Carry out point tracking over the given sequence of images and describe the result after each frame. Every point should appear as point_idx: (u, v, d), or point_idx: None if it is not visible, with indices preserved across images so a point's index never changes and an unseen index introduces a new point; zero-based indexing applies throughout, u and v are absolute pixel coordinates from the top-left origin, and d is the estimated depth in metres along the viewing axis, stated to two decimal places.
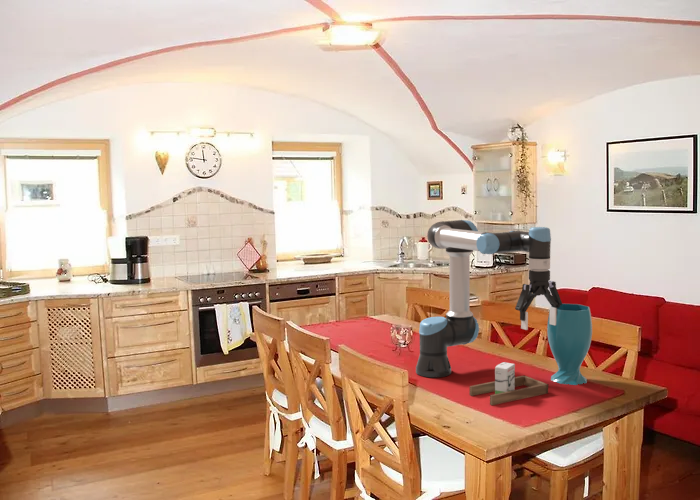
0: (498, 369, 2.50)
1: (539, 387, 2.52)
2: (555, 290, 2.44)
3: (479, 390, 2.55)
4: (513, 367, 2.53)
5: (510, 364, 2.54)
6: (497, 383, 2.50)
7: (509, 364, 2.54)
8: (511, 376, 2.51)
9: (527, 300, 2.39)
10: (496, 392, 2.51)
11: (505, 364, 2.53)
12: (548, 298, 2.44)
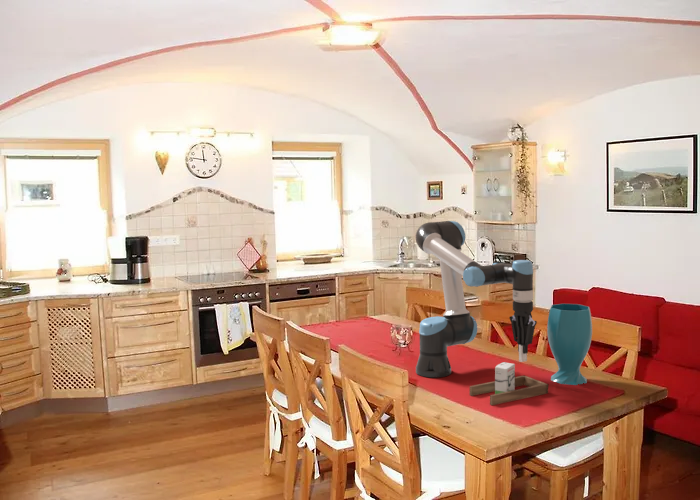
0: (498, 369, 2.50)
1: (539, 387, 2.52)
2: (528, 328, 2.50)
3: (479, 390, 2.55)
4: (513, 367, 2.53)
5: (510, 364, 2.54)
6: (497, 383, 2.50)
7: (509, 364, 2.54)
8: (511, 376, 2.51)
9: None
10: (496, 392, 2.51)
11: (505, 364, 2.53)
12: None
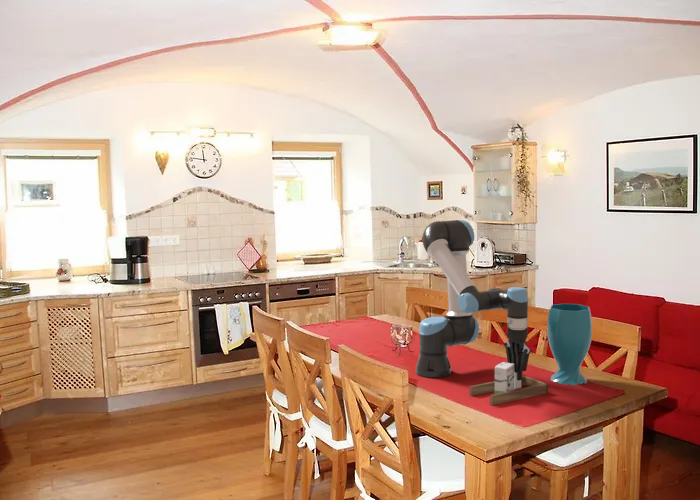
0: (498, 369, 2.49)
1: (539, 387, 2.52)
2: (522, 356, 2.50)
3: (479, 390, 2.55)
4: (513, 367, 2.53)
5: (510, 364, 2.54)
6: (497, 383, 2.50)
7: (509, 364, 2.53)
8: (510, 376, 2.51)
9: None
10: (496, 392, 2.51)
11: (505, 364, 2.53)
12: None
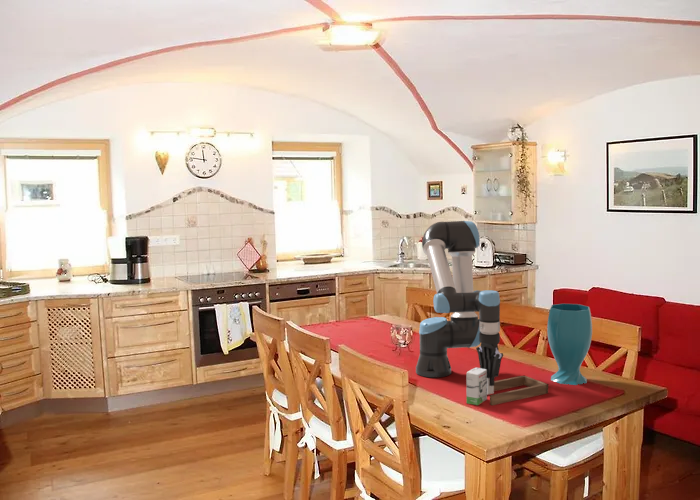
0: (469, 375, 2.43)
1: (539, 387, 2.52)
2: (494, 361, 2.44)
3: None
4: (485, 373, 2.47)
5: (482, 369, 2.47)
6: (469, 389, 2.44)
7: (481, 369, 2.47)
8: (483, 382, 2.45)
9: None
10: (467, 398, 2.44)
11: (477, 369, 2.47)
12: None
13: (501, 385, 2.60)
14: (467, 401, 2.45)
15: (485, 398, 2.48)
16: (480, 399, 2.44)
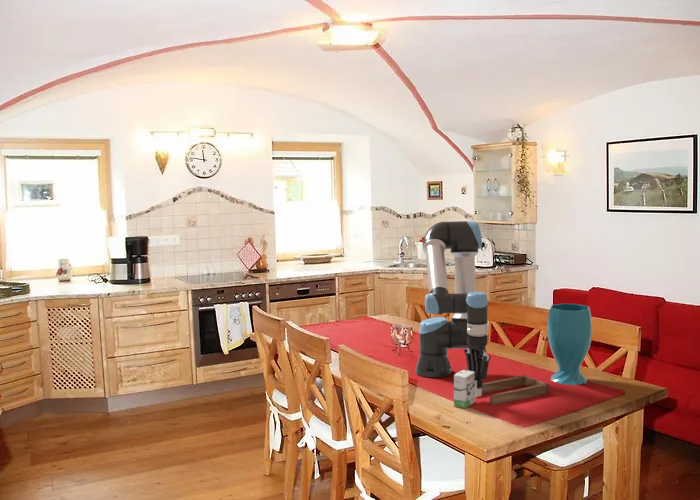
0: (457, 377, 2.40)
1: (539, 387, 2.52)
2: (482, 363, 2.42)
3: None
4: (473, 375, 2.44)
5: (470, 372, 2.45)
6: (456, 391, 2.41)
7: (469, 372, 2.44)
8: (470, 384, 2.42)
9: None
10: (455, 401, 2.42)
11: (465, 372, 2.44)
12: None
13: (501, 385, 2.60)
14: (455, 404, 2.42)
15: (473, 401, 2.45)
16: (468, 402, 2.41)
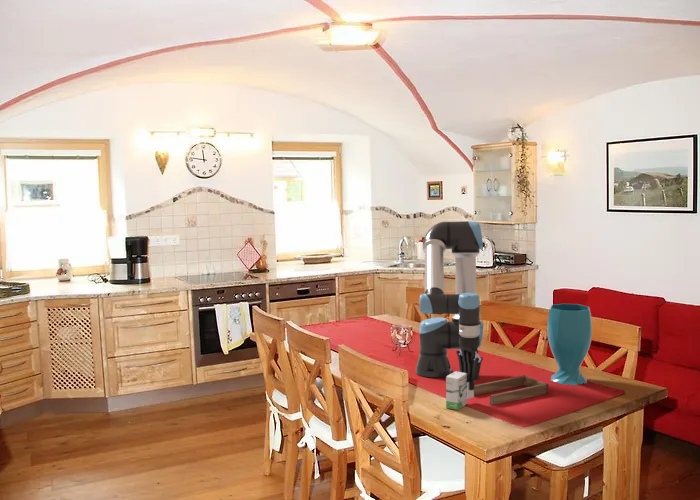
0: (449, 379, 2.39)
1: (539, 387, 2.52)
2: (474, 365, 2.40)
3: (479, 390, 2.55)
4: (465, 377, 2.42)
5: (462, 373, 2.43)
6: (448, 393, 2.39)
7: (461, 373, 2.43)
8: (463, 386, 2.41)
9: None
10: (447, 403, 2.40)
11: (457, 373, 2.43)
12: None
13: (501, 385, 2.60)
14: (447, 406, 2.40)
15: (465, 402, 2.43)
16: (460, 404, 2.39)
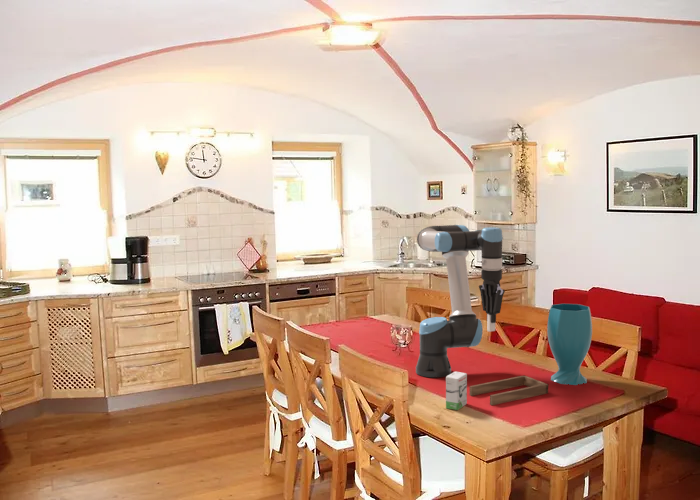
0: (449, 379, 2.39)
1: (539, 387, 2.52)
2: (496, 297, 2.44)
3: (479, 390, 2.55)
4: (465, 377, 2.42)
5: (462, 373, 2.43)
6: (448, 393, 2.39)
7: (461, 374, 2.43)
8: (462, 386, 2.41)
9: None
10: (447, 403, 2.40)
11: (457, 374, 2.43)
12: None
13: (501, 385, 2.60)
14: (447, 406, 2.40)
15: (465, 403, 2.43)
16: (460, 404, 2.39)
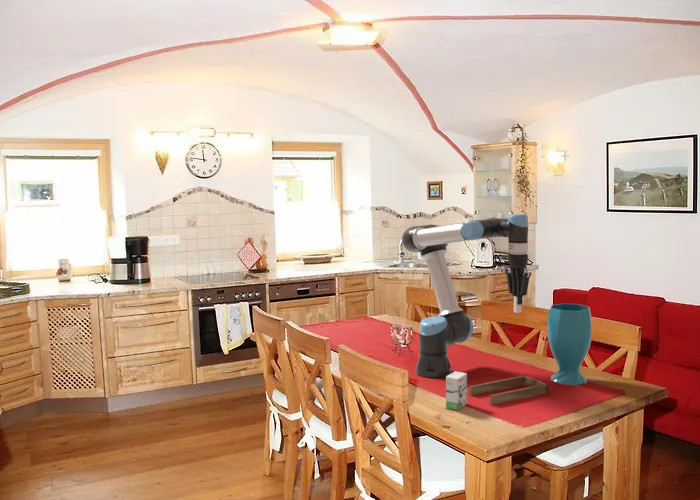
0: (449, 379, 2.39)
1: (539, 387, 2.52)
2: (523, 280, 2.57)
3: (479, 390, 2.55)
4: (465, 377, 2.42)
5: (462, 373, 2.43)
6: (448, 393, 2.39)
7: (461, 374, 2.43)
8: (462, 386, 2.41)
9: None
10: (447, 403, 2.40)
11: (457, 374, 2.43)
12: None
13: (501, 385, 2.60)
14: (447, 406, 2.40)
15: (465, 403, 2.43)
16: (460, 404, 2.39)
